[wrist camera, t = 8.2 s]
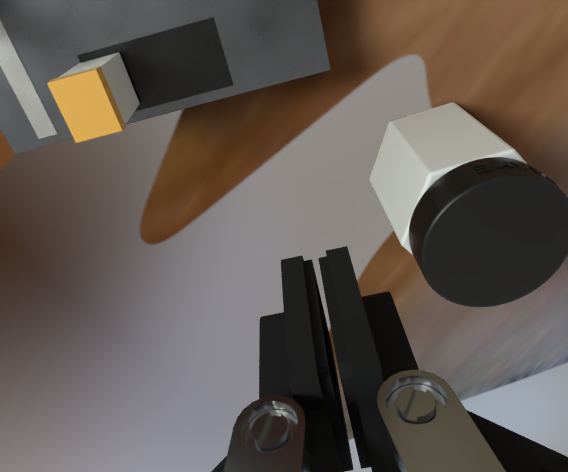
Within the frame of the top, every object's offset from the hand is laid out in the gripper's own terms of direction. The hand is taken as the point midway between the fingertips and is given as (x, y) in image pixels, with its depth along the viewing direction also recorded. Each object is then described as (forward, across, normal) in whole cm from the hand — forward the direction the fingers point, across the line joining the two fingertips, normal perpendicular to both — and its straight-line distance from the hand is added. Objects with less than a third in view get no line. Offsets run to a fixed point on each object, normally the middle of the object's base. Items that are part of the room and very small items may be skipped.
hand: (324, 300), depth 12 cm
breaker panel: (+23, +8, -6) cm, 25 cm away
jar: (+24, -9, +8) cm, 27 cm away
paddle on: (+20, +10, -3) cm, 22 cm away
